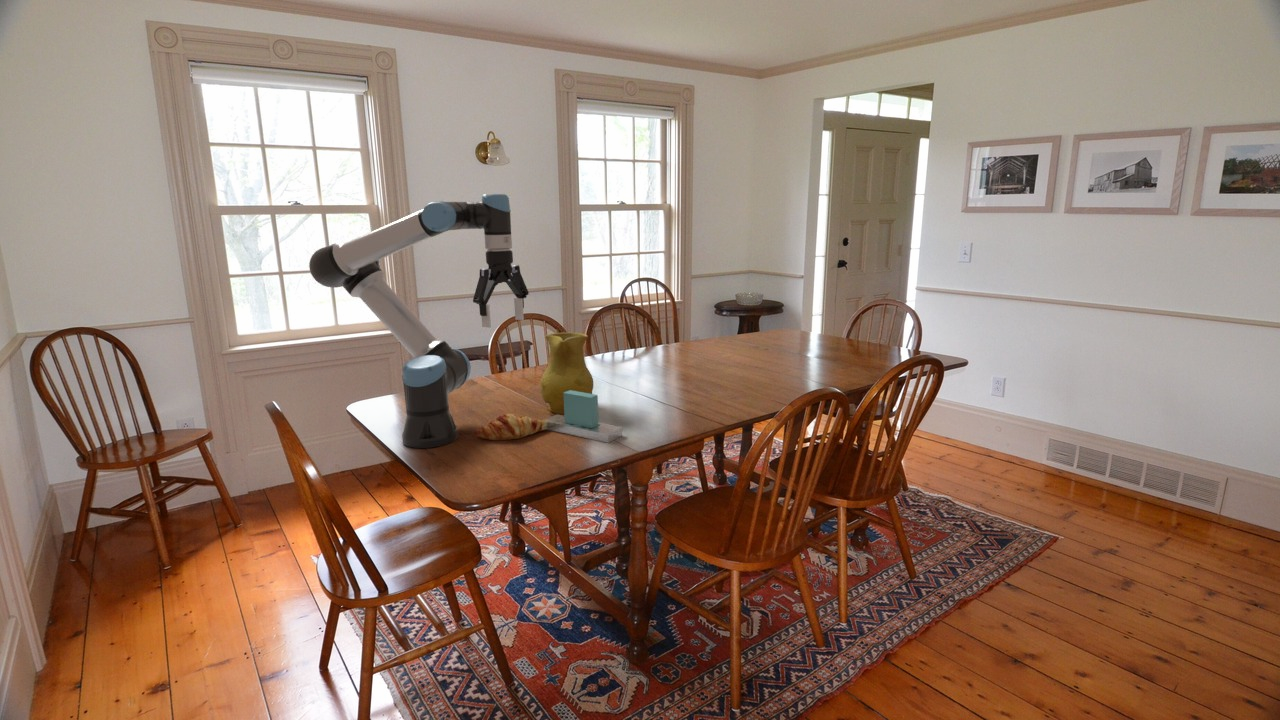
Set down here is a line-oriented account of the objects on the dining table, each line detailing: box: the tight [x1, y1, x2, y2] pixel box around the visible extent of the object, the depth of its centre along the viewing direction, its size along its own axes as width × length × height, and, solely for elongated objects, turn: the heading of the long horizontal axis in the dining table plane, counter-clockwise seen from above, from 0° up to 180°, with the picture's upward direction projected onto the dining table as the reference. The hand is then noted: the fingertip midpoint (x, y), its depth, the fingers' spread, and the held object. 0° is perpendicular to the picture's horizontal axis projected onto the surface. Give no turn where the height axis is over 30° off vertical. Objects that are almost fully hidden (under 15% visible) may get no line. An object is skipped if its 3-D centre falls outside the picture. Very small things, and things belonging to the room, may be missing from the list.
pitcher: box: [540, 331, 594, 415], centre depth 212 cm, size 17×19×25 cm
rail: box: [542, 413, 623, 444], centre depth 191 cm, size 7×24×2 cm, turn 58°
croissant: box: [474, 413, 547, 441], centre depth 189 cm, size 21×10×8 cm, turn 115°
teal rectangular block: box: [563, 390, 599, 429], centre depth 190 cm, size 3×10×12 cm, turn 57°
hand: (503, 323), depth 190 cm, fingers open, 13 cm apart
